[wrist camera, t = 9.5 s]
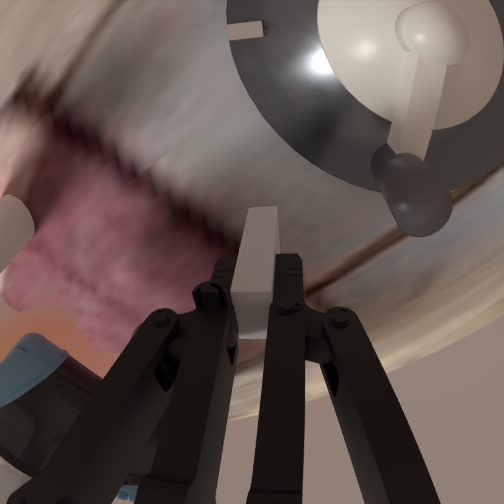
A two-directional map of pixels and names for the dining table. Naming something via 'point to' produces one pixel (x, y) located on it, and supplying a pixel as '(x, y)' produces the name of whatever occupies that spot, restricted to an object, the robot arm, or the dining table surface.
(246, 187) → the dining table surface
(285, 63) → the dial plate
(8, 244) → the cylindrical container
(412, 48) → the dial
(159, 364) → the robot arm
